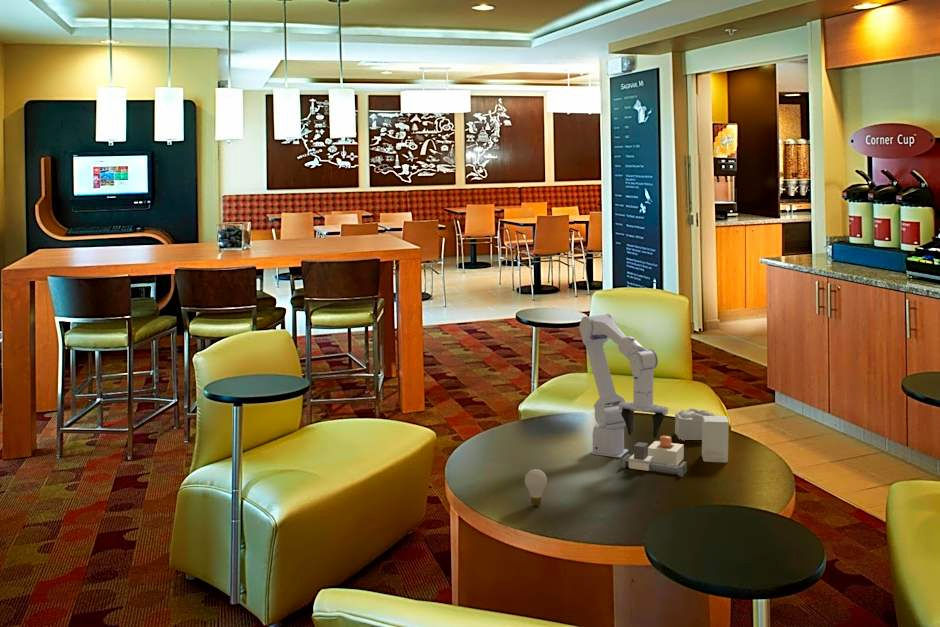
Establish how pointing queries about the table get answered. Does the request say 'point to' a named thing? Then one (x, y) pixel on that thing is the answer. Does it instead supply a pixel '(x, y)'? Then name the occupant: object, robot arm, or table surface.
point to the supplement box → (715, 438)
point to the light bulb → (535, 485)
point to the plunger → (665, 442)
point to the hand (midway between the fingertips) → (643, 435)
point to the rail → (660, 467)
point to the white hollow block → (666, 453)
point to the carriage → (640, 457)
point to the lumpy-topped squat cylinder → (690, 424)
